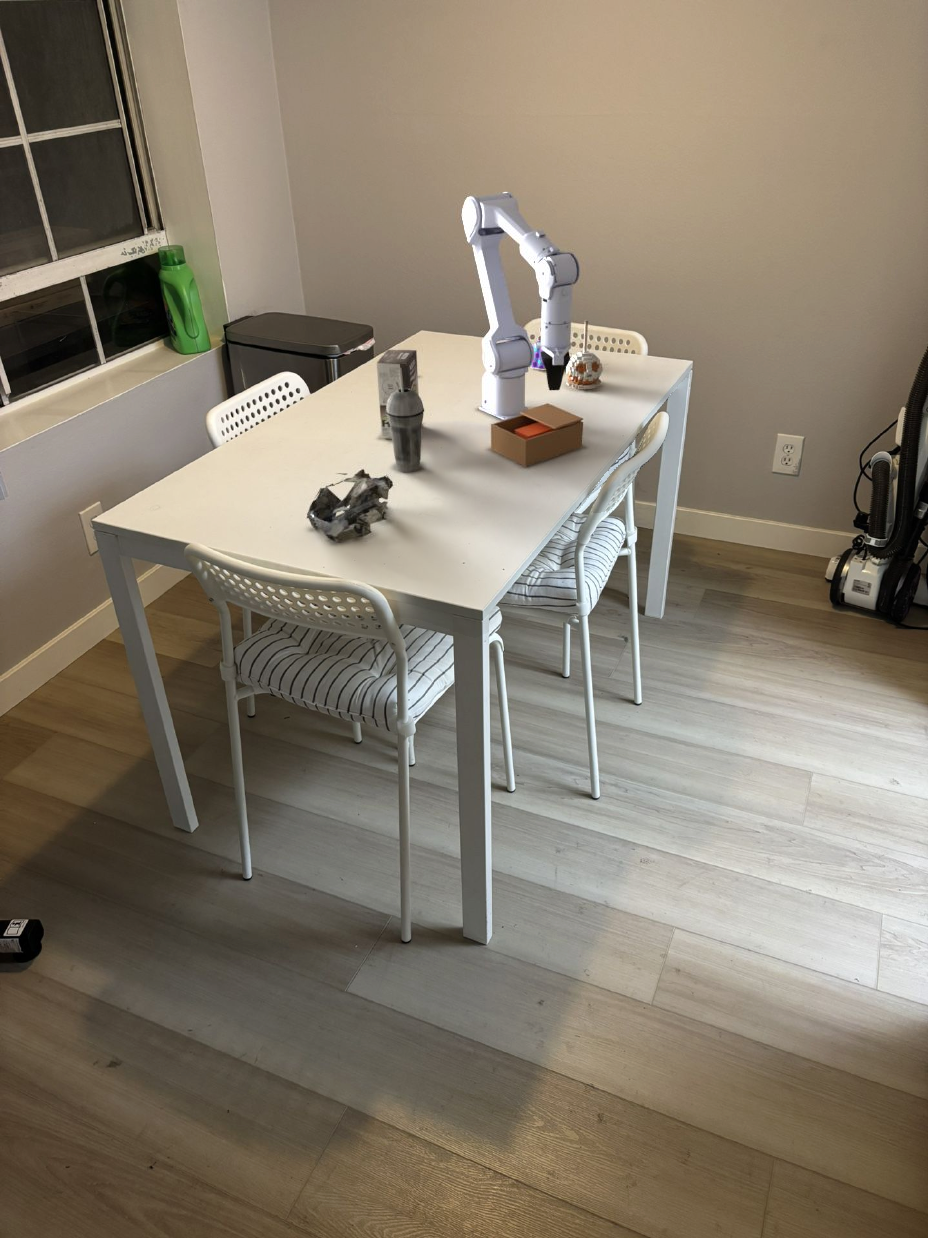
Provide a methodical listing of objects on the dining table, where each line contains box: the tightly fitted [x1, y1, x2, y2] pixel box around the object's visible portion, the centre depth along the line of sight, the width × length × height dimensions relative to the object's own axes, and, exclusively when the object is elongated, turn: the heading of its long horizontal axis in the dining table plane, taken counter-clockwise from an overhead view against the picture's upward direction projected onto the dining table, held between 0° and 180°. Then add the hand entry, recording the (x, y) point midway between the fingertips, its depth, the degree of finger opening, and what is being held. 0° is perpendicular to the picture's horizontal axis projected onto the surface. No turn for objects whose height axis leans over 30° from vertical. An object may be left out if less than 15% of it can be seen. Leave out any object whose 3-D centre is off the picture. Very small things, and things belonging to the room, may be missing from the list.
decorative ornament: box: [565, 319, 604, 390], centre depth 217 cm, size 8×8×15 cm
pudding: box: [528, 340, 546, 371], centre depth 233 cm, size 12×12×5 cm
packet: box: [515, 422, 559, 440], centre depth 190 cm, size 4×8×4 cm, turn 127°
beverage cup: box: [386, 368, 425, 473], centre depth 180 cm, size 7×7×20 cm
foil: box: [306, 468, 394, 544], centre depth 164 cm, size 12×11×15 cm
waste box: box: [490, 415, 584, 468], centre depth 190 cm, size 15×11×5 cm
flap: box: [520, 403, 584, 429], centre depth 190 cm, size 7×11×1 cm
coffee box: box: [376, 349, 420, 440], centre depth 196 cm, size 9×6×16 cm
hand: (554, 389), depth 190 cm, fingers closed
